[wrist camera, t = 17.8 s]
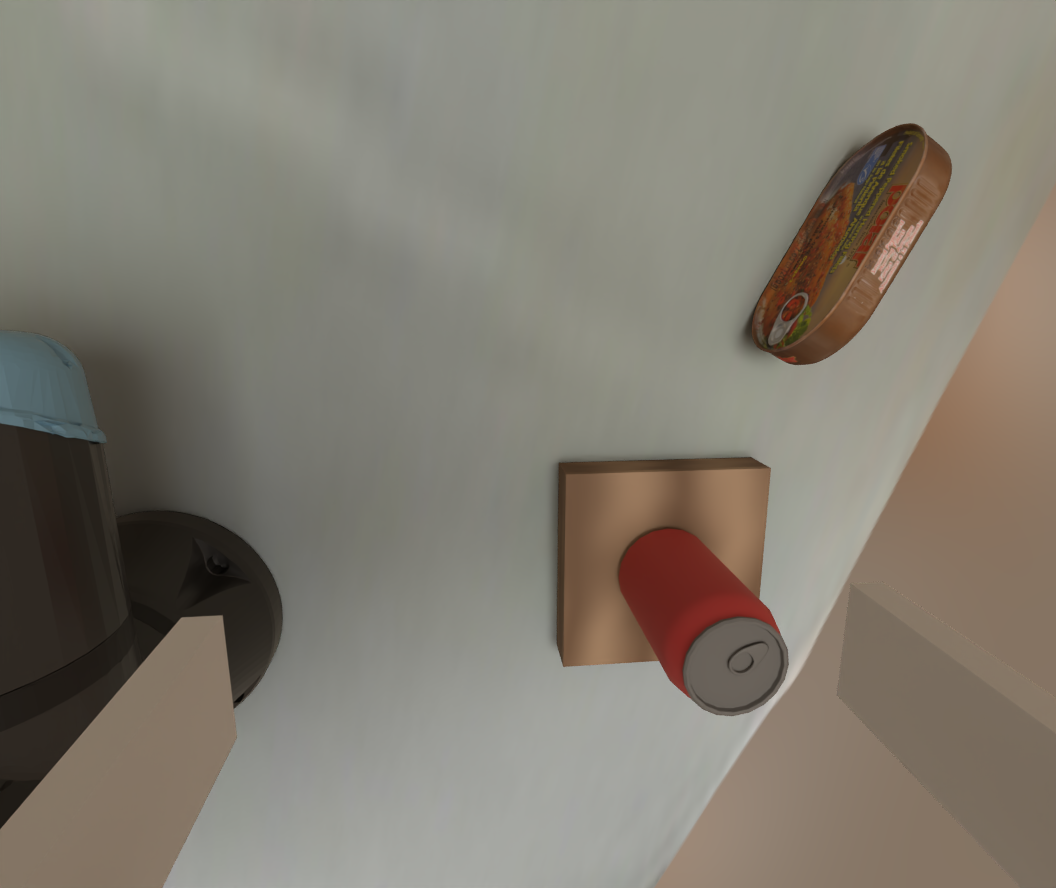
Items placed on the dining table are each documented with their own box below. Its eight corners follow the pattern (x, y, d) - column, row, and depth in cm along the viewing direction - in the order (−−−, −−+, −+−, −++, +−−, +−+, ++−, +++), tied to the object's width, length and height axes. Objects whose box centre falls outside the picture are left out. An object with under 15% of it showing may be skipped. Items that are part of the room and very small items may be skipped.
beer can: (726, 576, 45) (822, 675, 33) (650, 631, 45) (717, 749, 33) (676, 506, 43) (758, 584, 31) (597, 563, 43) (649, 662, 32)
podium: (556, 644, 48) (563, 666, 45) (558, 462, 44) (565, 474, 42) (736, 633, 49) (754, 654, 46) (750, 457, 46) (770, 468, 43)
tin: (852, 138, 42) (948, 100, 34) (888, 164, 42) (992, 133, 34) (731, 342, 44) (794, 353, 36) (767, 364, 45) (837, 380, 36)
